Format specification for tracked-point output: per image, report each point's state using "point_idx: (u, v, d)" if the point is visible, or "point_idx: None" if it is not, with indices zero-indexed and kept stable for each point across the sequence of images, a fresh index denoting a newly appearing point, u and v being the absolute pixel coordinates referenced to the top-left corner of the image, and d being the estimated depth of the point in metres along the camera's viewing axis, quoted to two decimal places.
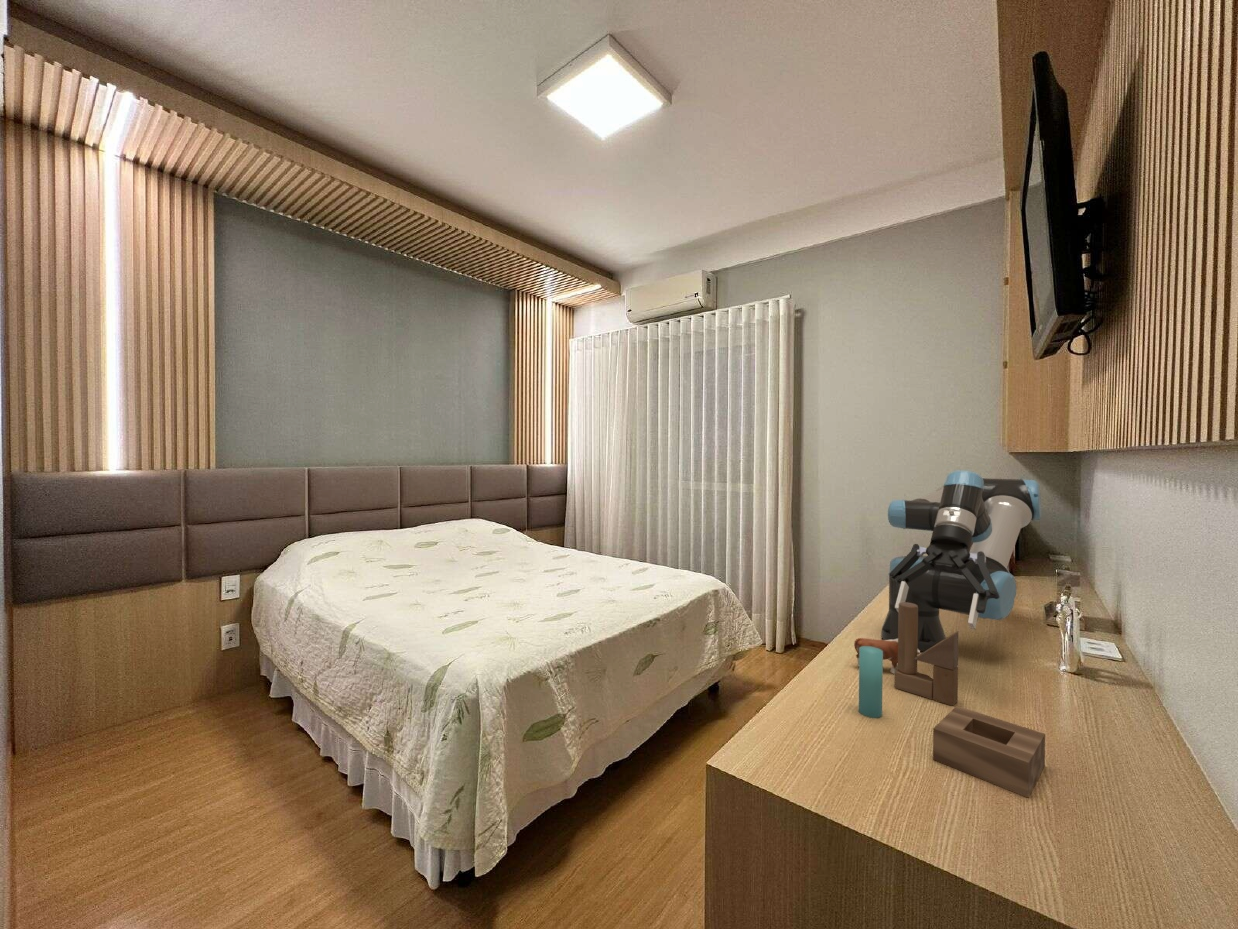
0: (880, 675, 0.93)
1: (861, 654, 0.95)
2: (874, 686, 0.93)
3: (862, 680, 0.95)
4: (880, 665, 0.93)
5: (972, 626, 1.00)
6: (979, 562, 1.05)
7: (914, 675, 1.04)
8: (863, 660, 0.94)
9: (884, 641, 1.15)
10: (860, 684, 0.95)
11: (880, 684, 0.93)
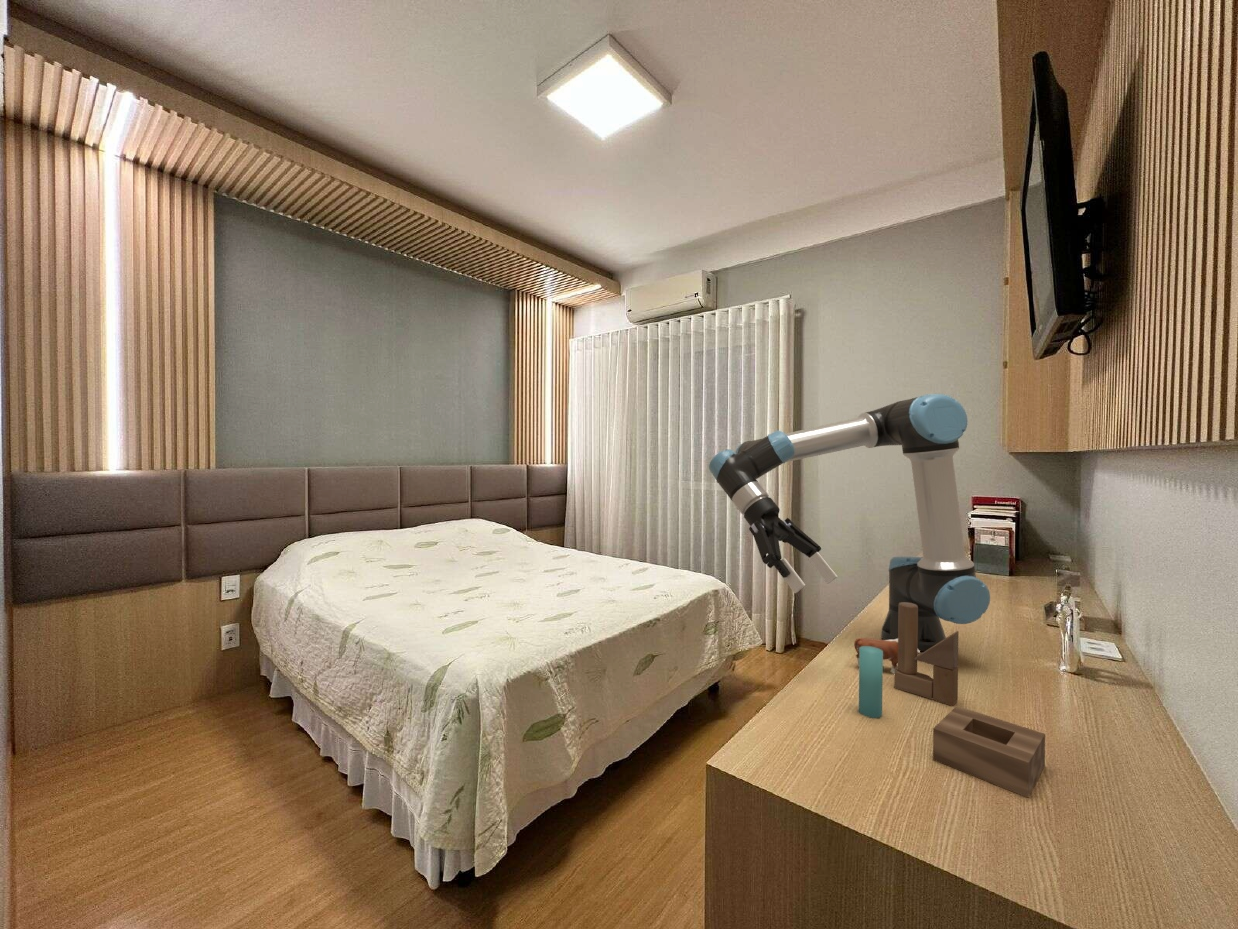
0: (880, 675, 0.93)
1: (861, 654, 0.95)
2: (874, 686, 0.93)
3: (862, 680, 0.95)
4: (880, 665, 0.93)
5: (800, 588, 0.99)
6: None
7: (914, 675, 1.04)
8: (863, 660, 0.94)
9: (884, 641, 1.15)
10: (860, 684, 0.95)
11: (880, 684, 0.93)
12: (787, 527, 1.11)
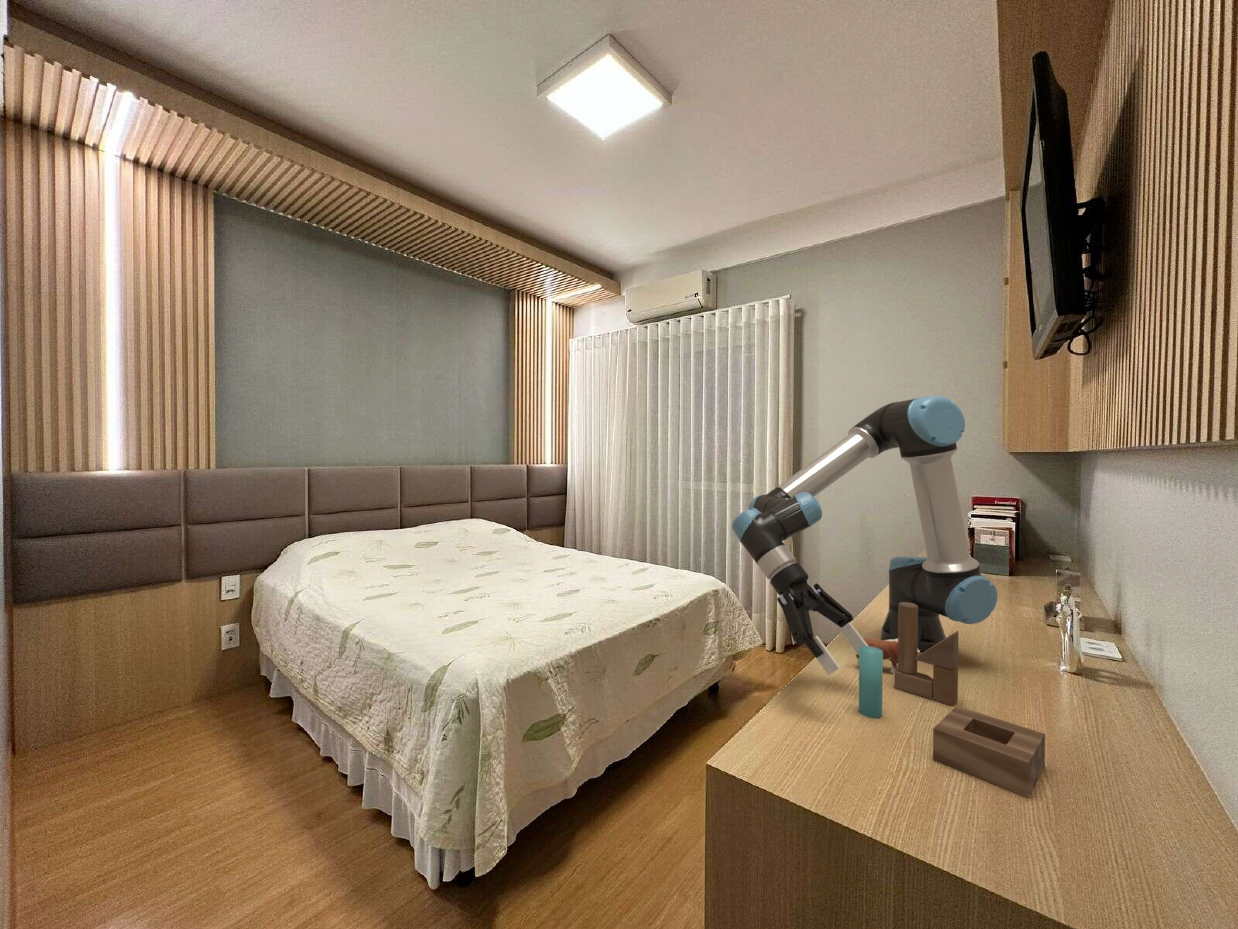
0: (880, 675, 0.93)
1: (861, 654, 0.95)
2: (874, 686, 0.93)
3: (862, 680, 0.95)
4: (880, 665, 0.93)
5: None
6: None
7: (914, 675, 1.04)
8: (863, 660, 0.94)
9: (884, 641, 1.15)
10: (860, 684, 0.95)
11: (880, 684, 0.93)
12: (817, 596, 1.05)
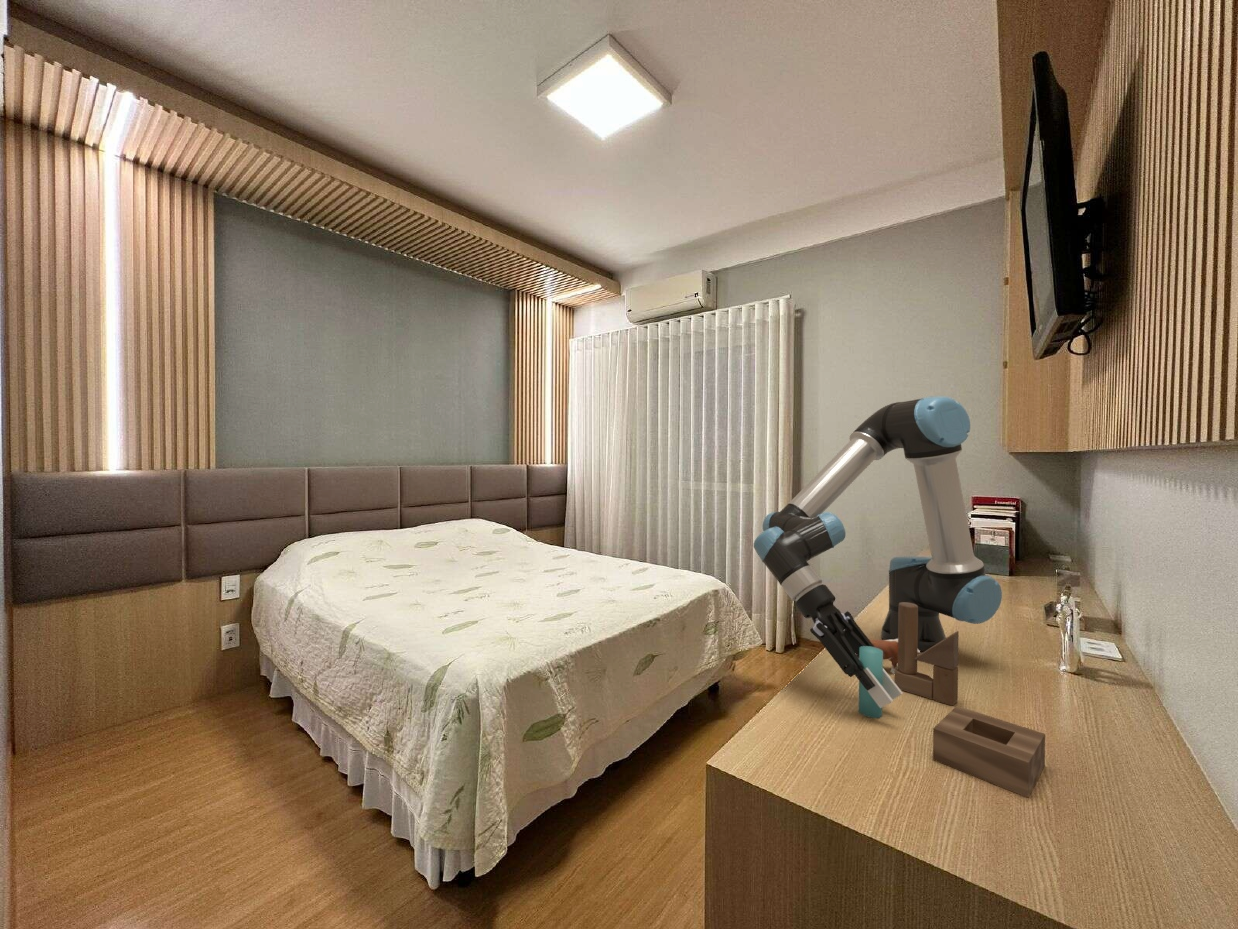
0: (880, 675, 0.93)
1: (861, 654, 0.95)
2: None
3: None
4: (880, 665, 0.93)
5: None
6: None
7: (914, 675, 1.04)
8: (863, 660, 0.94)
9: (884, 641, 1.15)
10: (860, 684, 0.95)
11: None
12: (844, 621, 1.01)
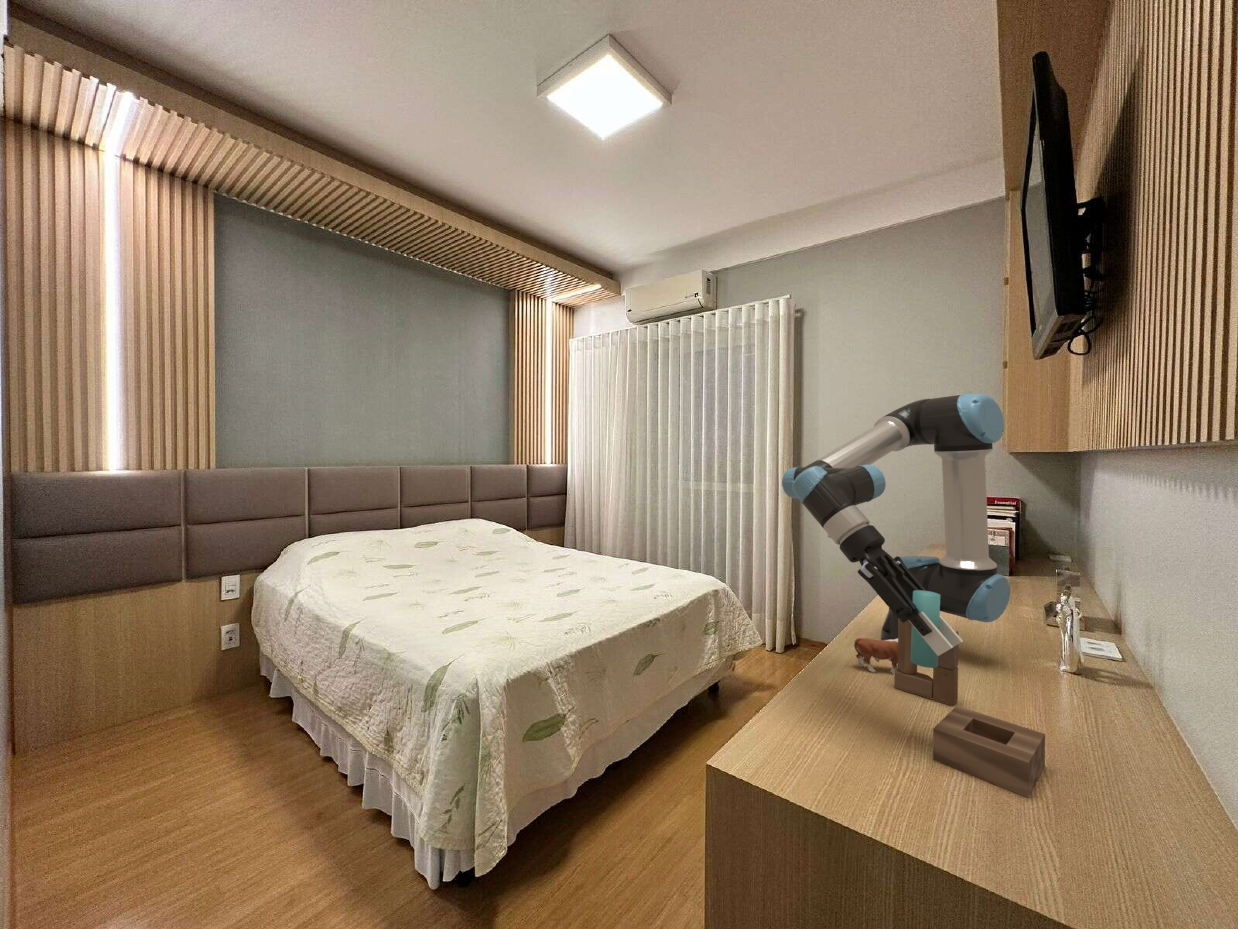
0: (937, 620, 0.84)
1: (915, 597, 0.85)
2: None
3: None
4: (937, 610, 0.84)
5: None
6: None
7: (914, 675, 1.04)
8: (917, 604, 0.85)
9: (884, 641, 1.15)
10: (913, 631, 0.86)
11: None
12: (895, 564, 0.91)
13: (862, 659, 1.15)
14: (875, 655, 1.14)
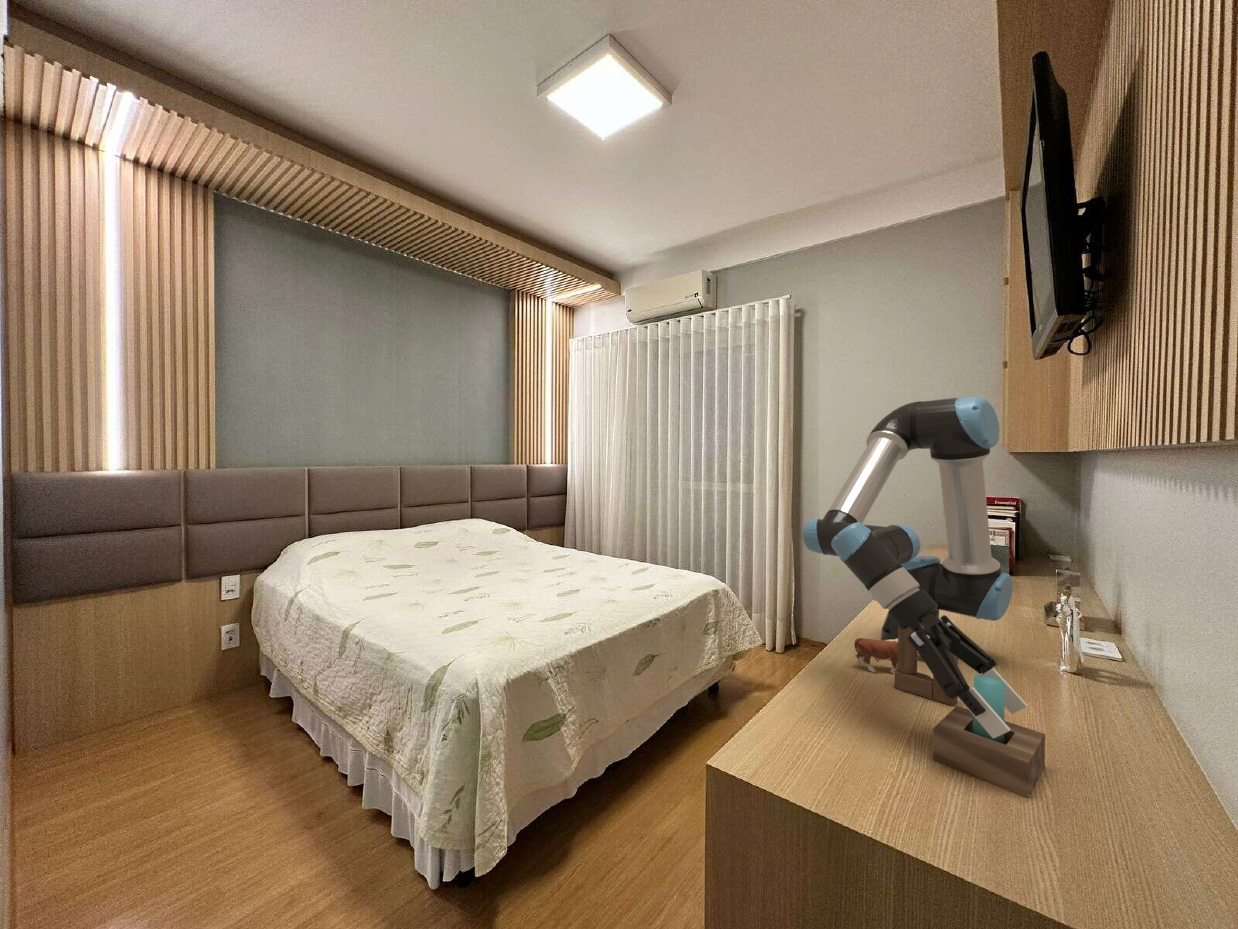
0: (1002, 711, 0.78)
1: (978, 685, 0.79)
2: None
3: None
4: (1003, 700, 0.78)
5: (1002, 733, 0.73)
6: None
7: (914, 675, 1.04)
8: (980, 693, 0.79)
9: (884, 641, 1.15)
10: (976, 721, 0.79)
11: None
12: (950, 631, 0.85)
13: (862, 659, 1.15)
14: (875, 655, 1.14)
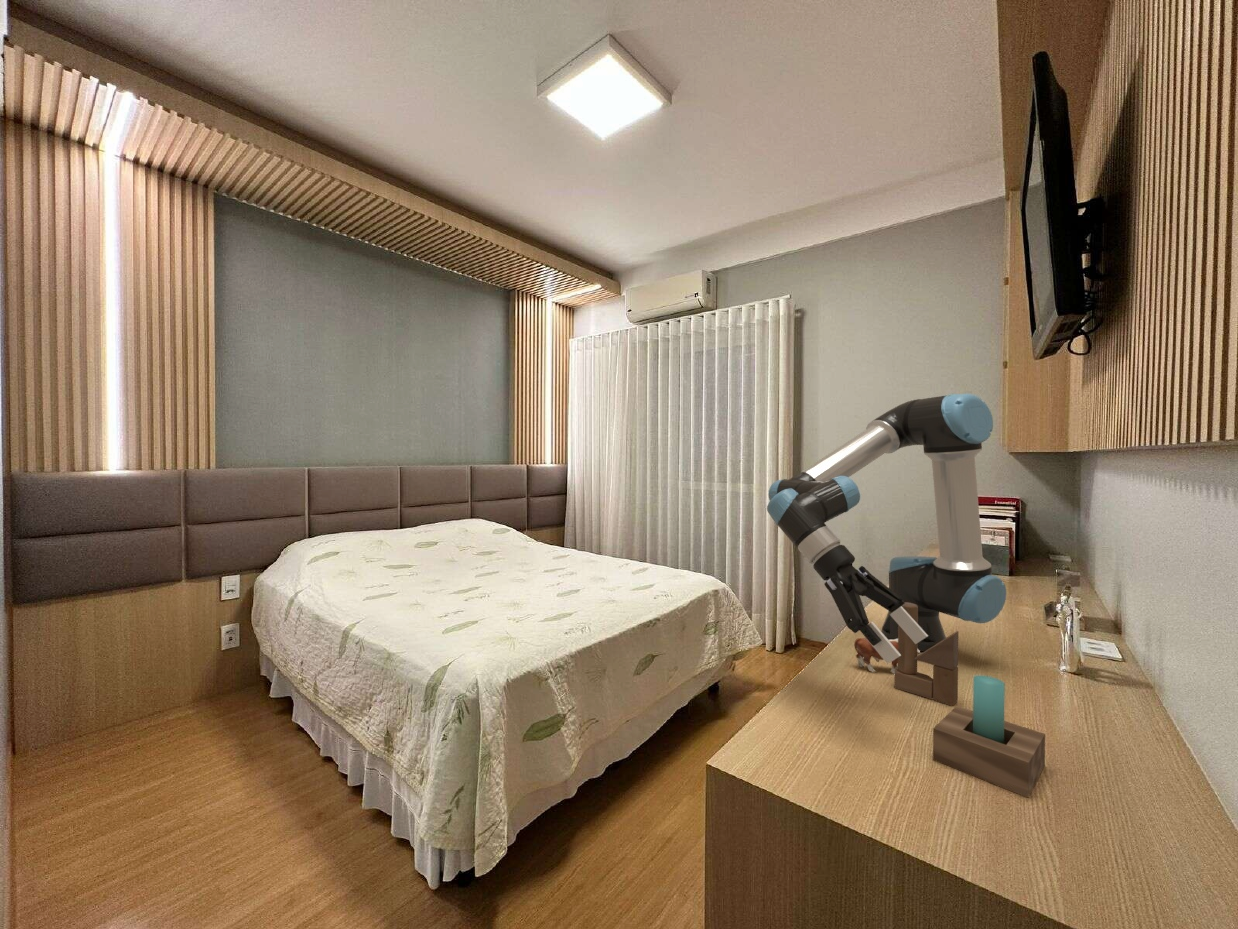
0: (1002, 712, 0.78)
1: (977, 686, 0.79)
2: (995, 726, 0.78)
3: (979, 717, 0.79)
4: (1002, 700, 0.78)
5: (894, 659, 0.85)
6: None
7: (914, 675, 1.04)
8: (980, 693, 0.79)
9: None
10: (976, 722, 0.79)
11: (1002, 722, 0.78)
12: (865, 579, 0.97)
13: (862, 659, 1.15)
14: (875, 655, 1.14)
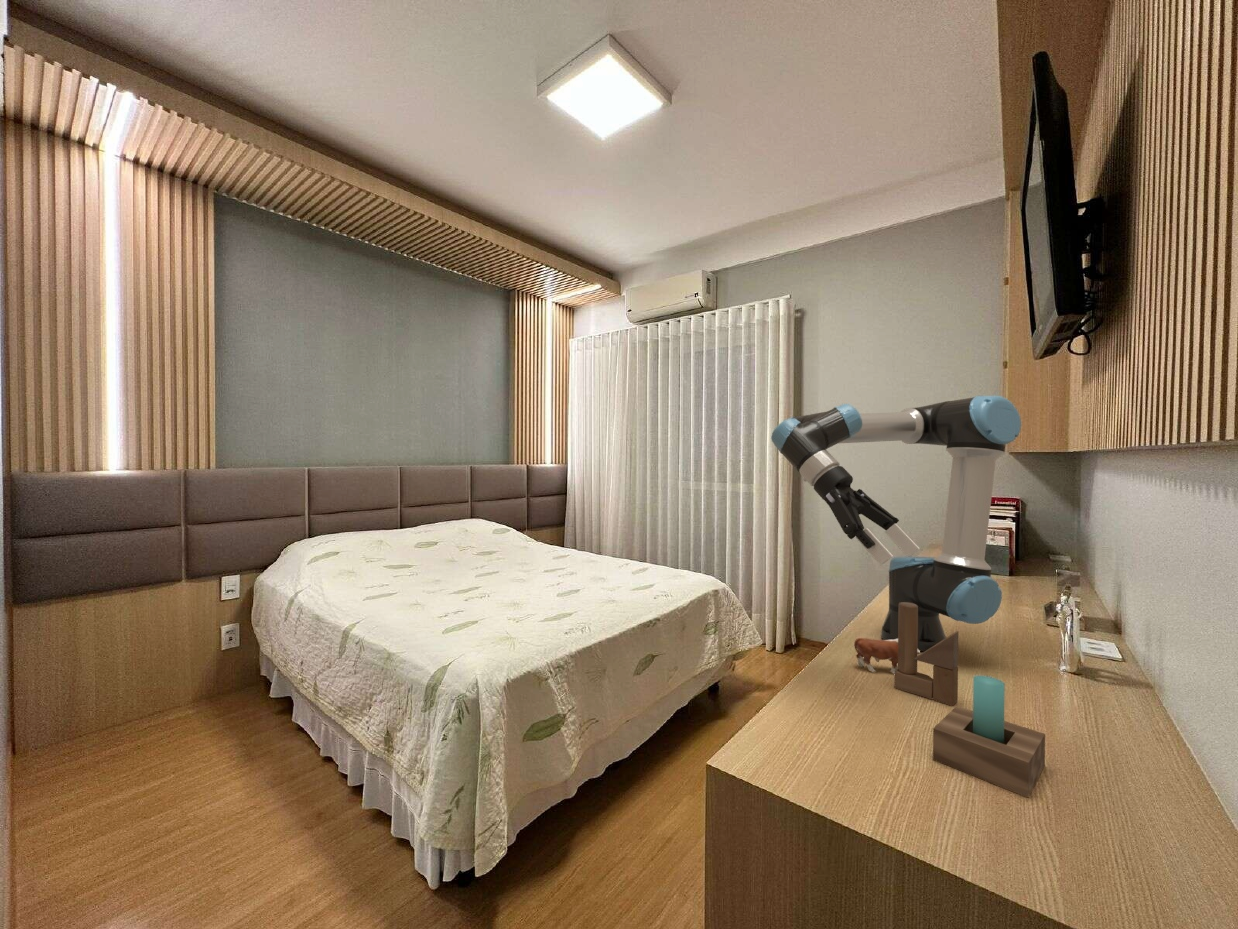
0: (1002, 712, 0.78)
1: (977, 686, 0.79)
2: (995, 726, 0.78)
3: (979, 717, 0.79)
4: (1002, 700, 0.78)
5: (887, 560, 0.91)
6: None
7: (914, 675, 1.04)
8: (980, 693, 0.79)
9: (884, 641, 1.15)
10: (976, 722, 0.79)
11: (1002, 722, 0.78)
12: (862, 497, 1.04)
13: (862, 659, 1.15)
14: (875, 655, 1.14)
